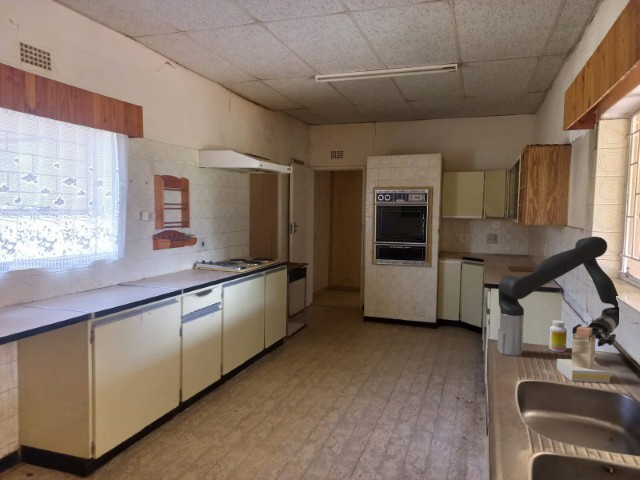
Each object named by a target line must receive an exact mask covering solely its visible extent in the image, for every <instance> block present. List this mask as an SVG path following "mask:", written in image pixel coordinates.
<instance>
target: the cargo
mask: <svg viewBox="0 0 640 480" xmlns="http://www.w3.org/2000/svg"><path fill="white" fill-rule="evenodd" d="M587 327H588V326H582V327H581V326H580V327H578V328H577V335H578V336H583V337H589V341H590V337H592V328H587Z"/></svg>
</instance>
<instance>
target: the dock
mask: <svg viewBox="0 0 640 480" xmlns="http://www.w3.org/2000/svg"><path fill="white" fill-rule="evenodd" d="M571 362H572V358H570V359H569V358H568V359H566V358H557V359H556V370H558V372H560V373H561V374H562V375H563V376H565V377H566V378H567V379H569V380H570V381H571V382H584V383H585V382H586V383H604V384H605V383H610V382H611V381H610V380H611V371H610V370H608V369H607V368H605V367H604V366H602V365H600V364H599V363H598V362H596V361H594V366H593V367H592V368H590V369H587V368H582V367H578V366H574V365H571Z"/></svg>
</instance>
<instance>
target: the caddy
mask: <svg viewBox="0 0 640 480" xmlns="http://www.w3.org/2000/svg"><path fill="white" fill-rule="evenodd" d="M571 345H572V347H571V359H572V362H571V365H574V366H578V367H582V368H587V369H590V368H592V367H593V366H594V362H595V354H596V353H595V352H596V335H593V334H592V337H590V341H589V337H583V336H578V335H577V332H576V333H575V334H572V342H571Z"/></svg>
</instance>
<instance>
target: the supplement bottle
mask: <svg viewBox="0 0 640 480" xmlns="http://www.w3.org/2000/svg"><path fill="white" fill-rule="evenodd" d="M567 332H568V330H567V328H566V327H565V321H563V320H557V319H554V320H552V325H551V326H550V327H549V338H548V339H549V341H548V349H549V350H550V351H552V352H557V353H564V352H566V351H567V335H568V333H567Z"/></svg>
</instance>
